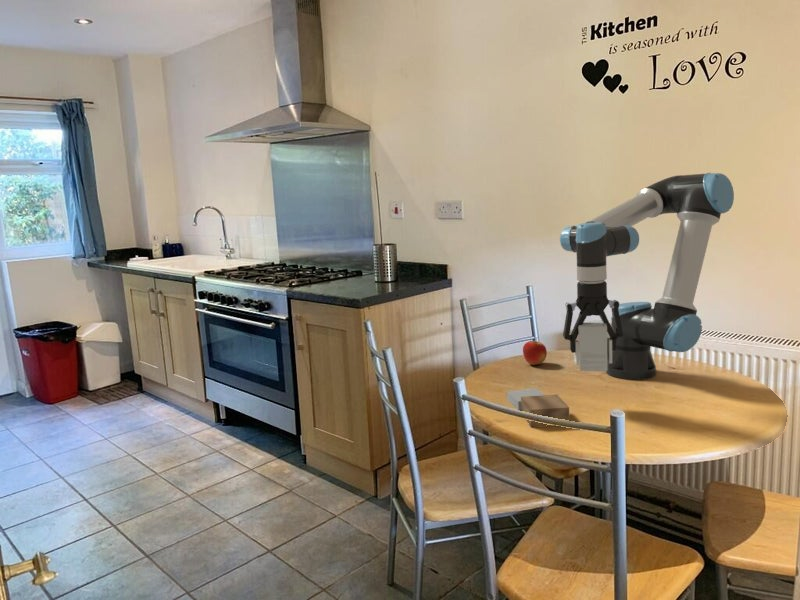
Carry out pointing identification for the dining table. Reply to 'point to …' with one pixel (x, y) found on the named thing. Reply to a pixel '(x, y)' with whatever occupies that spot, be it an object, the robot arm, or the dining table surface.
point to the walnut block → (545, 407)
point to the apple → (534, 352)
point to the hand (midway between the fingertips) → (593, 362)
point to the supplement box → (593, 346)
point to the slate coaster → (516, 395)
